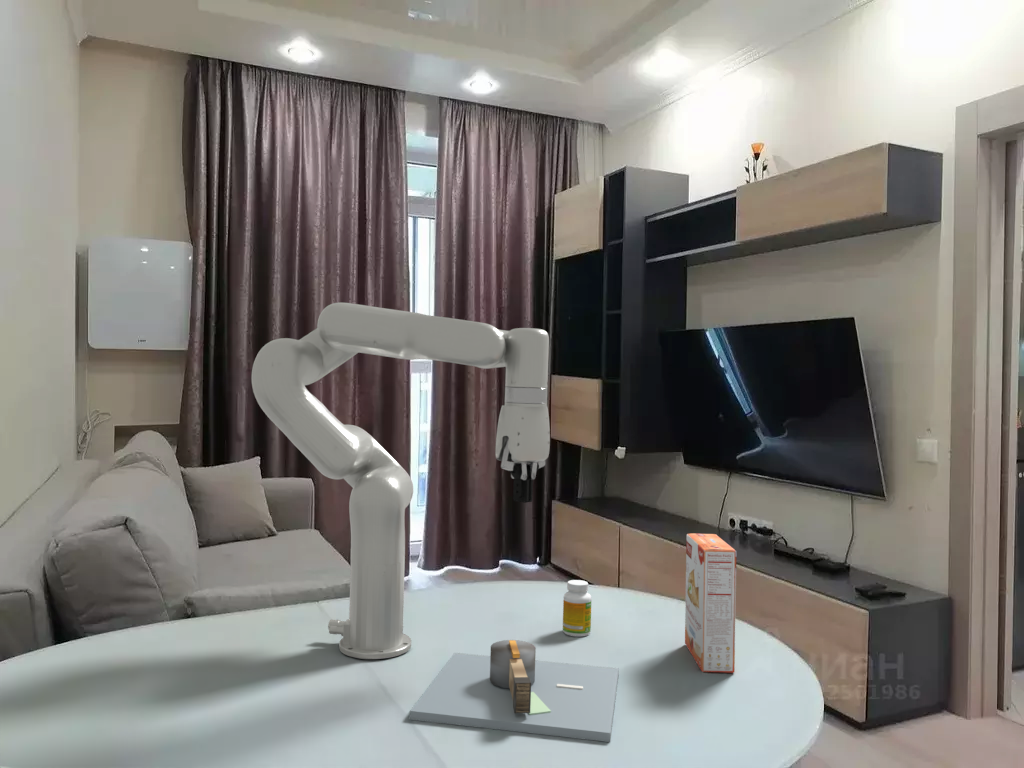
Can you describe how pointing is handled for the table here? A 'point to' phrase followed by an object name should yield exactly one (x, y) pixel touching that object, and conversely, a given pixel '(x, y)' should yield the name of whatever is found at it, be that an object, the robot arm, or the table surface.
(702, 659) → the cracker box
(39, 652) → the table surface
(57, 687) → the table surface
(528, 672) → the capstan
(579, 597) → the supplement bottle
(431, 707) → the board
